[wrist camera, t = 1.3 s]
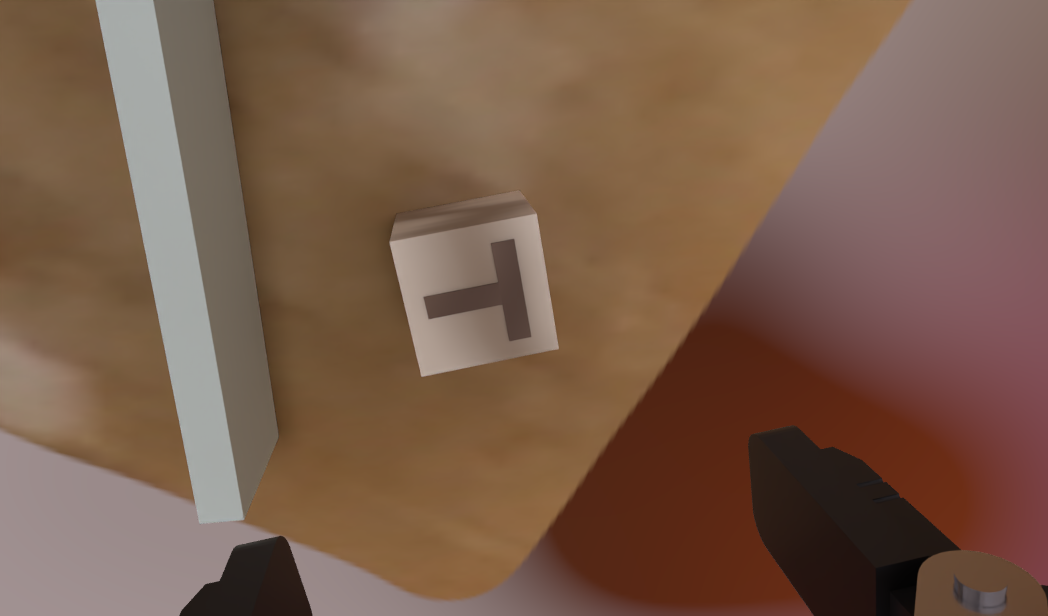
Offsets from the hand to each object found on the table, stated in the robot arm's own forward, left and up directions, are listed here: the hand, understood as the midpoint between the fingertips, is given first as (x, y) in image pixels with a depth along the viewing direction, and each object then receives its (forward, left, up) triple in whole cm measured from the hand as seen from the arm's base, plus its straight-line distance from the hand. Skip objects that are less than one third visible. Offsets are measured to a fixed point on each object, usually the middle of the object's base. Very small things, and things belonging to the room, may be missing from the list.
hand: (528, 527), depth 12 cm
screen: (-9, +3, -18) cm, 20 cm away
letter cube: (0, 0, -18) cm, 18 cm away
